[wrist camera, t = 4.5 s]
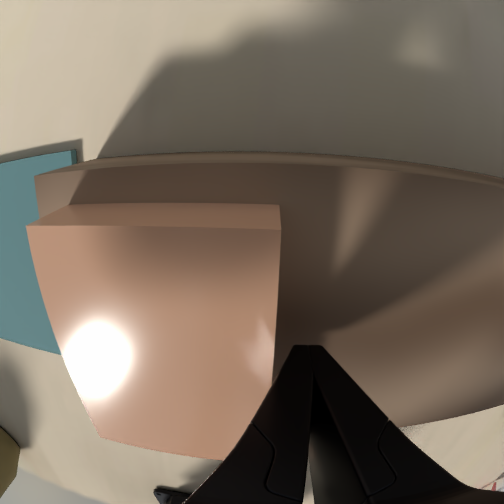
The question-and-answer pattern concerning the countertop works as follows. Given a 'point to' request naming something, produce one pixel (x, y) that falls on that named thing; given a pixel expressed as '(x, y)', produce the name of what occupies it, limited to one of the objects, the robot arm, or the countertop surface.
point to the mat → (23, 252)
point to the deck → (353, 262)
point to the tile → (164, 316)
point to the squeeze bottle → (7, 460)
